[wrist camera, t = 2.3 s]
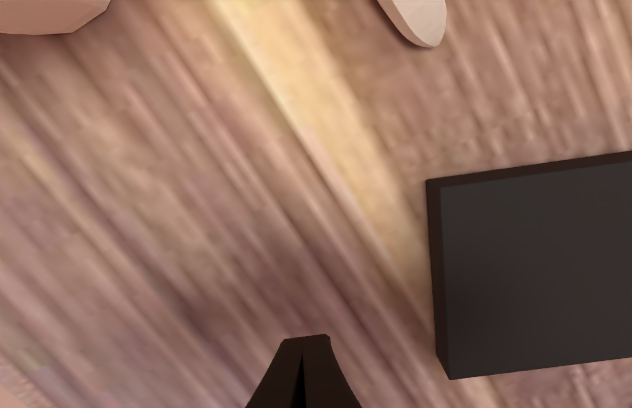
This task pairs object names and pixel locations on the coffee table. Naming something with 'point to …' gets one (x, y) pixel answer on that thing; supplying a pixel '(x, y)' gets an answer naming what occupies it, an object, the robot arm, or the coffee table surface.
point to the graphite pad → (532, 265)
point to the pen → (418, 19)
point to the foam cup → (47, 15)
